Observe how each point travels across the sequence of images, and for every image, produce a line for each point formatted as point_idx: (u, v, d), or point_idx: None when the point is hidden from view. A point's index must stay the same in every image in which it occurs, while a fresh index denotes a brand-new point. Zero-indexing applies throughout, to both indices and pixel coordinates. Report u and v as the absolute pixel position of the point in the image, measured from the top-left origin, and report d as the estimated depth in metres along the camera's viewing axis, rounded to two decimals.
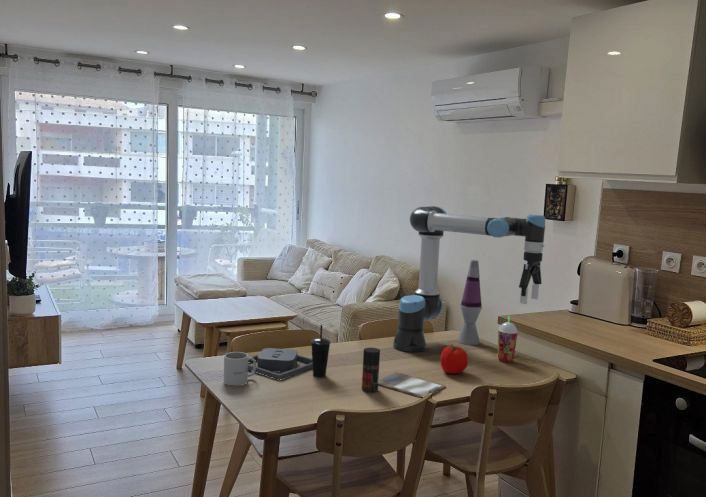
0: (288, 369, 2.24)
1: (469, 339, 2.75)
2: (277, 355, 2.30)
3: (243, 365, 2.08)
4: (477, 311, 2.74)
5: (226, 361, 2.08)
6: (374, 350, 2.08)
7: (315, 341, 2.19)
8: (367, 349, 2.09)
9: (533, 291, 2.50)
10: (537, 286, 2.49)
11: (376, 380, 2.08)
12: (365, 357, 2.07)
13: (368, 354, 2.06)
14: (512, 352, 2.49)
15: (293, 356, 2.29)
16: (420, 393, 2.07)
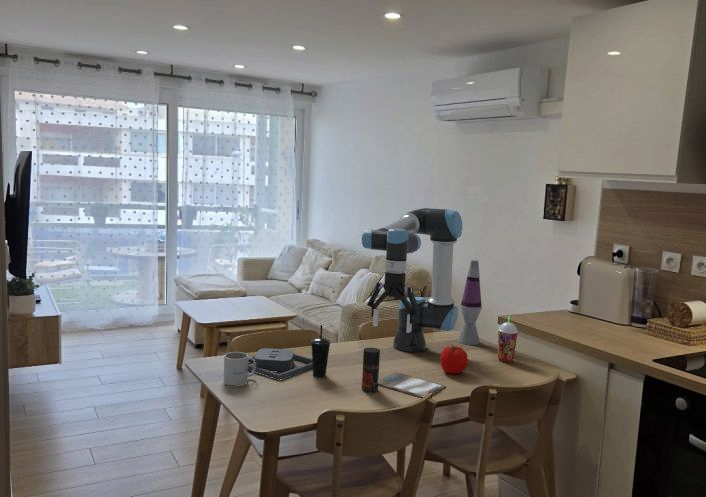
0: (286, 369, 2.24)
1: (469, 339, 2.75)
2: (274, 355, 2.29)
3: (243, 365, 2.08)
4: (477, 311, 2.74)
5: (226, 361, 2.08)
6: (374, 350, 2.08)
7: (315, 341, 2.19)
8: (367, 349, 2.09)
9: None
10: None
11: (376, 380, 2.08)
12: (365, 357, 2.07)
13: (368, 354, 2.06)
14: (512, 352, 2.49)
15: (290, 356, 2.29)
16: (420, 393, 2.07)
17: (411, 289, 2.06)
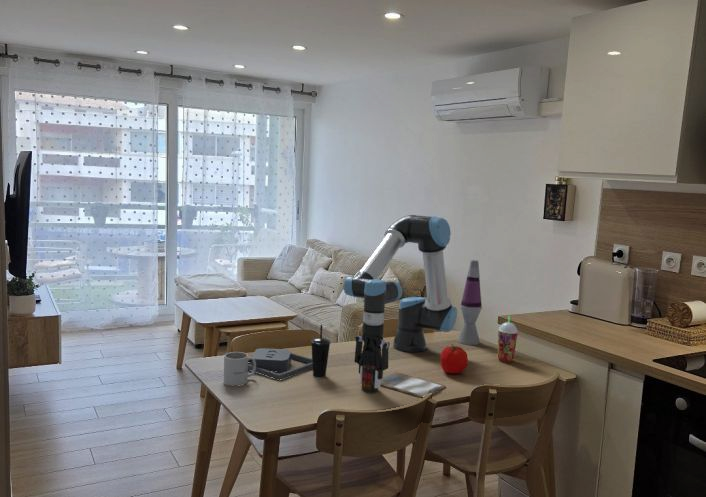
0: (282, 369, 2.24)
1: (469, 339, 2.75)
2: (271, 355, 2.29)
3: (243, 365, 2.08)
4: (477, 311, 2.74)
5: (226, 361, 2.08)
6: None
7: (315, 341, 2.19)
8: (367, 349, 2.09)
9: None
10: None
11: None
12: (365, 357, 2.07)
13: (368, 354, 2.06)
14: (512, 352, 2.49)
15: (287, 356, 2.29)
16: (420, 393, 2.07)
17: (387, 345, 2.04)
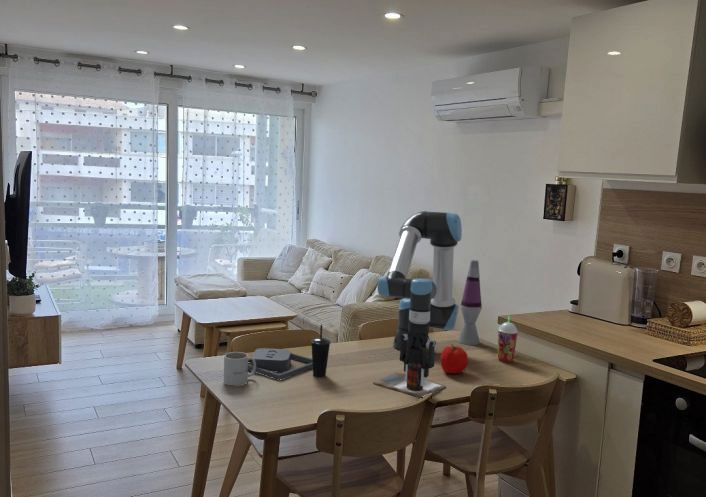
0: (283, 369, 2.24)
1: (469, 339, 2.75)
2: (271, 355, 2.29)
3: (243, 365, 2.08)
4: (477, 311, 2.74)
5: (226, 361, 2.08)
6: None
7: (315, 341, 2.19)
8: (413, 347, 2.11)
9: None
10: None
11: None
12: (411, 355, 2.09)
13: (414, 352, 2.08)
14: (512, 352, 2.49)
15: (287, 356, 2.29)
16: (420, 393, 2.07)
17: (433, 344, 2.06)
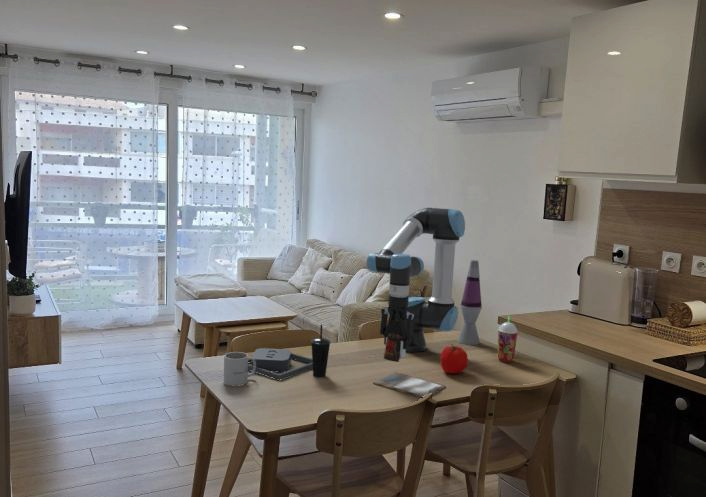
0: (283, 369, 2.24)
1: (469, 339, 2.75)
2: (271, 355, 2.29)
3: (243, 365, 2.08)
4: (477, 311, 2.74)
5: (226, 361, 2.08)
6: None
7: (315, 341, 2.19)
8: None
9: None
10: None
11: (399, 350, 2.16)
12: (391, 325, 2.17)
13: (395, 322, 2.16)
14: (512, 352, 2.49)
15: (287, 356, 2.29)
16: (420, 393, 2.07)
17: (412, 317, 2.14)
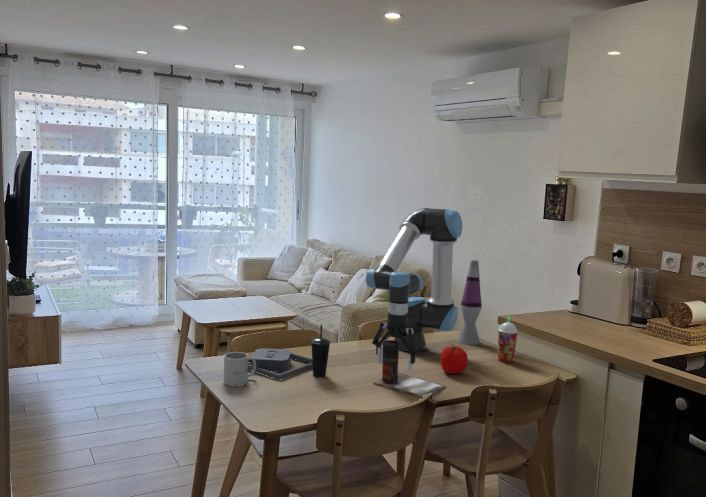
0: (283, 369, 2.24)
1: (469, 339, 2.75)
2: (271, 355, 2.29)
3: (243, 365, 2.08)
4: (477, 311, 2.74)
5: (226, 361, 2.08)
6: (392, 343, 2.15)
7: (315, 341, 2.19)
8: (386, 342, 2.16)
9: None
10: None
11: (396, 372, 2.16)
12: (384, 350, 2.15)
13: (387, 347, 2.13)
14: (512, 352, 2.49)
15: (287, 356, 2.29)
16: (420, 393, 2.07)
17: (412, 331, 2.14)
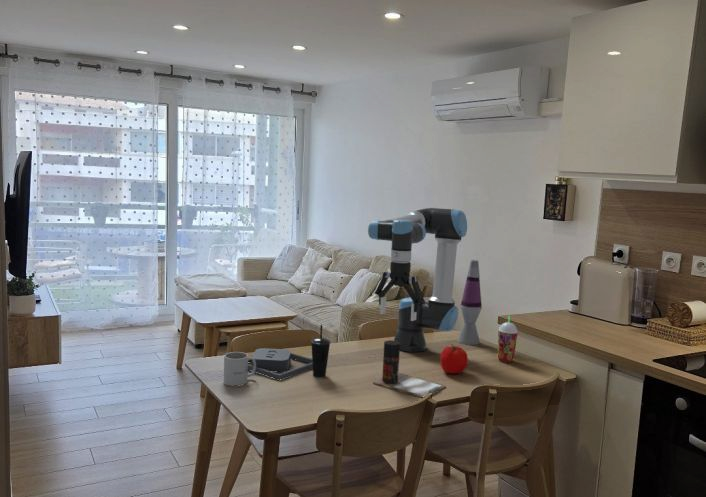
0: (282, 369, 2.24)
1: (469, 339, 2.75)
2: (271, 355, 2.29)
3: (243, 365, 2.08)
4: (477, 311, 2.74)
5: (226, 361, 2.08)
6: (394, 343, 2.16)
7: (315, 341, 2.19)
8: (387, 342, 2.17)
9: None
10: None
11: (396, 372, 2.16)
12: (385, 349, 2.15)
13: (388, 346, 2.14)
14: (512, 352, 2.49)
15: (287, 356, 2.29)
16: (420, 393, 2.07)
17: (415, 278, 2.12)
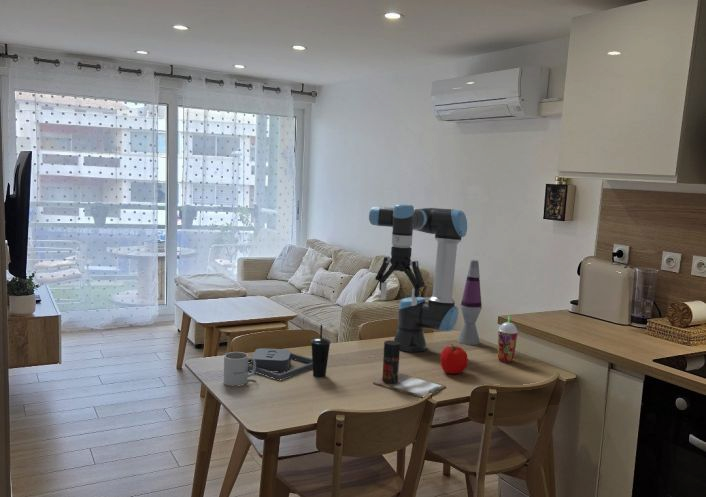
0: (283, 369, 2.24)
1: (469, 339, 2.75)
2: (271, 355, 2.29)
3: (243, 365, 2.08)
4: (477, 311, 2.74)
5: (226, 361, 2.08)
6: (394, 343, 2.16)
7: (315, 341, 2.19)
8: (388, 342, 2.17)
9: None
10: None
11: (396, 372, 2.16)
12: (385, 349, 2.15)
13: (388, 346, 2.14)
14: (512, 352, 2.49)
15: (287, 356, 2.29)
16: (420, 393, 2.07)
17: (416, 263, 2.11)
